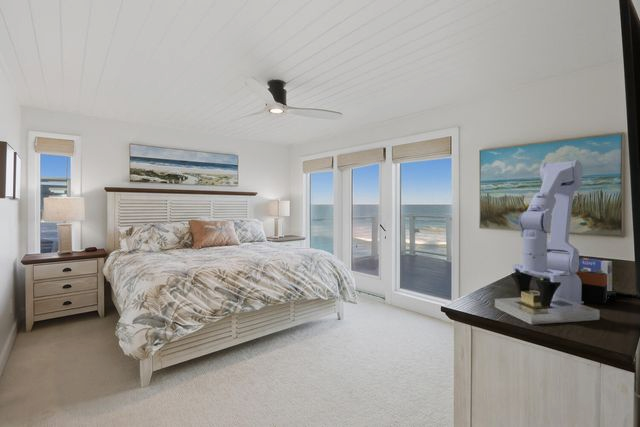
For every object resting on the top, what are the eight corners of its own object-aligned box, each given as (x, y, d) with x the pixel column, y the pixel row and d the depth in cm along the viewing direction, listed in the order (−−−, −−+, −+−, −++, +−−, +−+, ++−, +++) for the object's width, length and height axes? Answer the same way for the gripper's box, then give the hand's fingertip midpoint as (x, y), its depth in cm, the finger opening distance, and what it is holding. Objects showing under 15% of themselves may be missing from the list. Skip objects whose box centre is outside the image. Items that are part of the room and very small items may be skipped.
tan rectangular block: (535, 310, 93) (535, 290, 93) (548, 316, 89) (548, 294, 88) (521, 311, 92) (521, 290, 92) (533, 317, 88) (533, 295, 88)
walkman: (579, 292, 110) (579, 257, 110) (583, 291, 112) (583, 257, 111) (608, 298, 104) (608, 261, 103) (612, 296, 105) (612, 260, 104)
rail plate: (554, 303, 99) (554, 295, 99) (599, 319, 85) (599, 309, 85) (494, 307, 97) (494, 298, 96) (531, 324, 83) (531, 314, 83)
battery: (604, 305, 97) (604, 272, 96) (576, 300, 102) (576, 269, 102) (607, 302, 100) (607, 270, 99) (579, 297, 105) (580, 267, 105)
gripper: (503, 250, 97) (503, 295, 97) (543, 258, 82) (542, 311, 83) (524, 249, 98) (524, 293, 98) (567, 257, 83) (567, 309, 84)
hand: (534, 301), depth 90 cm, fingers open, 7 cm apart
